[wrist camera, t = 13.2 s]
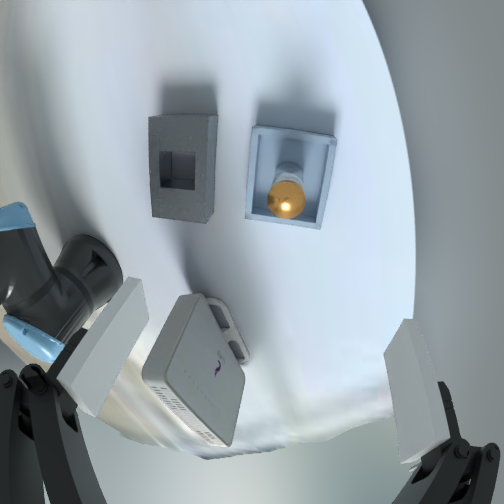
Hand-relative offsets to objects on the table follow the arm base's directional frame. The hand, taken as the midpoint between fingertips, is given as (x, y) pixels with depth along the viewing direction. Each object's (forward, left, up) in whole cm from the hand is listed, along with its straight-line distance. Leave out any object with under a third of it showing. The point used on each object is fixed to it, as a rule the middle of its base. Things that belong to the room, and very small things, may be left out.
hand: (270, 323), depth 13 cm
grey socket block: (-14, 0, -27) cm, 30 cm away
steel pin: (0, 0, -26) cm, 26 cm away
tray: (0, 0, -27) cm, 27 cm away
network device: (-9, -33, -27) cm, 43 cm away
